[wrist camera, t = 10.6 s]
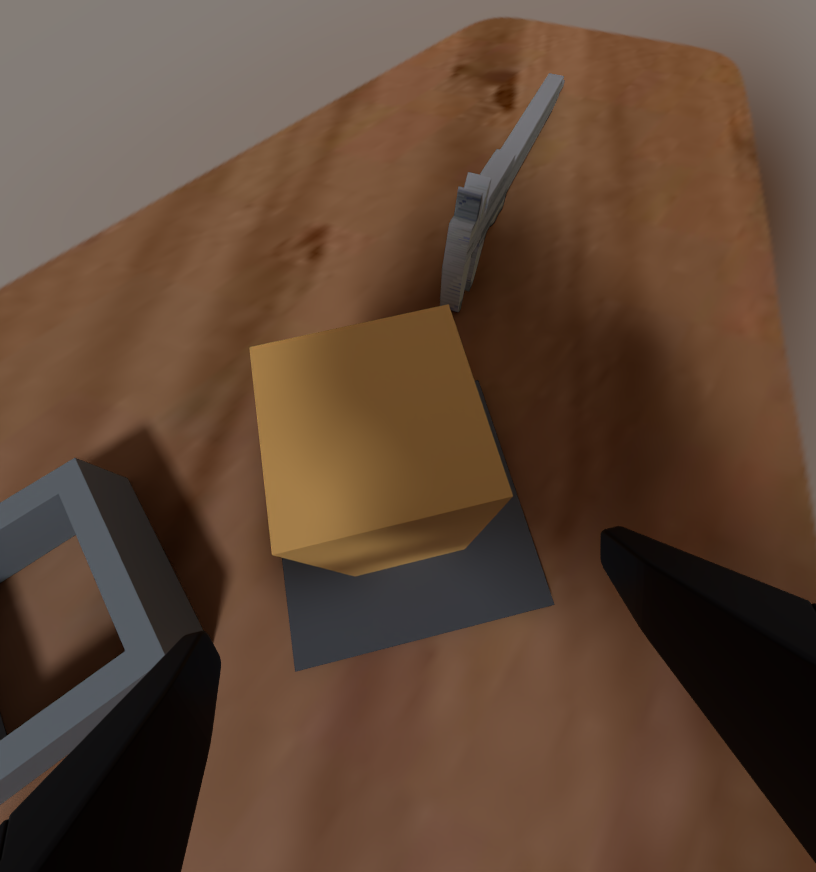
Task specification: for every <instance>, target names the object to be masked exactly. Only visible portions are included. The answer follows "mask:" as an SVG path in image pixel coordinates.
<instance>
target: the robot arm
mask: <svg viewBox="0 0 816 872" xmlns="http://www.w3.org/2000/svg"><path fill="white" fill-rule="evenodd" d="M601 563H602V565H603V568H604V570H605V571H606V573H607V575H608V576H609V578H610V580H611V581H612V583H613V585H614V586H615V588H616V590H617V591H618V593H619V595H620V596H621V598H622V599H623V601H624V603H625V604H626V606H627V608H628V609H629V611H630V613H631V614H632V616H633V618H634V619H635V621H636V622H637V624H638V626H639V627H640V629H641V630H642V632H643V633H644V634H645V636H646V637H647V639H648V640H649V641H650V643H651V644H652V645H653V647H654V648H655V649H656V651H657V652H658V653H659V655H660V656H661V657H662V659H663V660H664V661H665V663H666V664H667V665H668V667H669V668H670V669H671V671H672V672H673V673H674V675H675V676H676V677H677V679H678V680H679V681H680V683H681V684H682V685H683V687H684V688H685V689H686V691H687V692H688V693H689V695H690V696H691V697H692V699H693V700H694V701H695V703H696V704H697V705H698V707H699V708H700V709H701V711H702V712H703V713H704V715H705V716H706V717H707V719H708V720H709V721H710V723H711V724H712V725H713V727H714V728H715V729H716V731H717V732H718V733H719V735H720V736H721V737H722V739H723V740H724V741H725V743H726V744H727V745H728V747H729V748H730V750H731V751H732V752H733V754H734V755H735V756H736V758H737V759H738V760H739V762H740V763H741V764H742V766H743V767H744V768H745V770H746V771H747V772H748V774H749V775H750V776H751V778H752V779H753V780H754V782H755V783H756V784H757V786H758V787H759V788H760V790H761V791H762V792H763V794H764V795H765V796H766V798H767V799H768V800H769V802H770V803H771V804H772V806H773V807H774V808H775V810H776V811H777V812H778V814H779V815H780V816H781V818H782V819H783V820H784V822H785V823H786V824H787V826H788V827H789V828H790V830H791V831H792V832H793V834H794V835H795V836H796V838H797V839H798V840H799V842H800V843H801V844H802V846H803V847H804V848H805V850H806V851H807V852H808V854H809V855H810V856H811V858H812V859H813V860H814V862H815V863H816V604H815V603H813V604H811V603H810V602H809V601H808V600H805V599H803V598H800V597H798V596H795V595H793V594H790V593H788V592H785V591H783V590H780V589H778V588H775V587H772V586H770V585H767V584H765V583H762V582H760V581H757V580H755V579H752V578H750V577H747V576H745V575H742V574H740V573H737V572H735V571H732V570H730V569H727V568H725V567H722V566H720V565H717V564H715V563H712V562H710V561H707V560H704V559H702V558H699V557H697V556H694V555H692V554H689V553H687V552H684V551H682V550H679V549H677V548H674V547H672V546H669V545H667V544H664V543H662V542H659V541H657V540H654V539H652V538H649V537H647V536H644V535H642V534H639V533H637V532H634V531H631V530H629V529H626V528H624V527H621V526H616V527H612V528H608V529H605V530H603V531H602V532H601ZM220 670H221V659H220V656H219V654H218V652H217V650H216V648H215V646H214V644H213V642H212V641H211V639H210V637H209V635H208V634H207V633H206V632H205V631H198V632H194V633H190V634H187V635H184V636H183V637H182V638H181V639H180V640H179V641H178V642H177V643H176V644H175V645H174V646H173V647H172V648H171V649H170V650H169V651H168V652H167V653H166V654H165V655H164V656H163V657H162V658H161V659H160V660H159V661H158V663H157V664H156V665H155V666H154V667H153V668H152V669H151V670H150V671H149V672H148V673H147V674H146V675H145V676H144V677H143V678H142V679H141V680H140V681H139V682H138V683H137V684H136V685H135V686H134V687H133V688H132V689H131V690H130V691H129V693H128V694H127V695H126V696H125V697H124V698H123V699H122V700H121V701H120V702H119V703H118V704H117V705H116V706H115V707H114V708H113V709H112V710H111V711H110V712H109V713H108V714H107V715H106V716H105V717H104V718H103V719H102V720H101V721H100V722H99V724H98V725H97V726H96V727H95V728H94V729H93V730H92V731H91V732H90V733H89V734H88V735H87V736H86V737H85V738H84V739H83V740H82V741H81V742H80V743H79V744H78V745H77V746H76V747H75V748H74V749H73V750H72V751H71V752H70V753H69V755H68V756H67V757H66V758H65V759H64V760H63V761H62V762H61V763H60V764H59V765H58V766H57V767H56V768H55V769H54V770H53V771H52V772H51V773H50V774H49V775H48V776H47V777H46V778H45V779H44V780H43V781H42V782H41V783H40V784H39V786H38V787H37V788H36V789H35V790H34V791H33V792H32V793H31V794H30V795H29V796H28V797H27V798H26V799H25V800H24V801H23V802H22V803H21V804H20V805H19V806H18V807H17V808H16V809H15V810H14V811H13V812H12V813H11V815H10V817H9V819H8V820H5V821H4V822H3V823H2V824H1V825H0V872H181V869H182V865H183V861H184V856H185V852H186V848H187V844H188V839H189V835H190V831H191V826H192V822H193V818H194V813H195V809H196V805H197V801H198V796H199V792H200V788H201V783H202V779H203V775H204V770H205V766H206V762H207V758H208V753H209V748H210V743H211V737H212V731H213V723H214V716H215V708H216V701H217V693H218V685H219V678H220Z"/></svg>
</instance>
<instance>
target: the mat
mask: <svg viewBox="0 0 816 872" xmlns="http://www.w3.org/2000/svg"><path fill="white" fill-rule="evenodd" d="M475 384H476V387H477V390H478V393H479V396H480V399H481V402H482V405H483V408H484V411H485V414H486V417H487V420H488V423H489V426H490V429H491V432H492V435H493V438H494V441H495V444H496V447H497V450H498V453H499V455H500V458H501V461H502V464H503V467H504V470H505V473H506V476H507V479H508V482H509V485H510V488H511V491H512V494H513V497H512V498H511V499H510V500H509V501H508V503H507V504H506V505H505V506H504V507H503V508H502V509H501V510H500V511H499V512H498V513H497V515H496V516H495V517H494V518H493V519H492V520H491V521H490V522H489V523H488V524H487V525H486V527H485V528H484V529H483V530H482V531H481V532H480V533H479V534H478V535H477V536H476V537H475V539H474V540H473V541H472V542H471V543H470V544H469V545H468V546H467V547H466V548H465V549H464V550H460V551H456V552H452V553H448V554H444V555H440V556H436V557H432V558H428V559H423V560H419V561H415V562H411V563H407V564H403V565H399V566H395V567H391V568H387V569H383V570H379V571H375V572H371V573H367V574H363V575H359V576H351V575H347V574H343V573H339V572H335V571H332V570H328V569H324V568H320V567H316V566H312V565H308V564H305V563H301V562H297V561H293V560H289V559H285V558H282V562H283V571H284V580H285V588H286V597H287V606H288V614H289V623H290V631H291V640H292V649H293V657H294V666H295V672H296V671H300V670H303V669H307V668H311V667H315V666H319V665H323V664H327V663H331V662H334V661H338V660H342V659H346V658H350V657H354V656H358V655H362V654H365V653H369V652H373V651H377V650H381V649H385V648H389V647H393V646H396V645H400V644H404V643H408V642H412V641H416V640H420V639H424V638H427V637H431V636H435V635H439V634H443V633H447V632H451V631H454V630H458V629H462V628H466V627H470V626H474V625H478V624H482V623H485V622H489V621H493V620H497V619H501V618H505V617H509V616H513V615H516V614H520V613H524V612H528V611H532V610H536V609H540V608H544V607H547V606H551V605H554V602H553V599H552V596H551V593H550V590H549V587H548V584H547V581H546V578H545V575H544V572H543V570H542V567H541V564H540V561H539V558H538V555H537V552H536V549H535V546H534V543H533V540H532V537H531V534H530V531H529V528H528V525H527V522H526V519H525V517H524V514H523V511H522V508H521V505H520V502H519V499H518V496H517V493H516V490H515V487H514V484H513V481H512V478H511V475H510V472H509V469H508V466H507V463H506V461H505V458H504V455H503V452H502V449H501V446H500V443H499V440H498V437H497V434H496V431H495V428H494V425H493V422H492V419H491V416H490V413H489V410H488V408H487V405H486V402H485V399H484V396H483V393H482V390H481V387H480V384H479V381H478V380H476V381H475Z"/></svg>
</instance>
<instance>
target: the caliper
mask: <svg viewBox="0 0 816 872" xmlns="http://www.w3.org/2000/svg"><path fill="white" fill-rule="evenodd" d="M563 79H564V76H560V75H556V74H551V73H549V74H548V76H547V78H546V79H545V81H544V82H543V84H542V85H541V87H540V88H539V90H538V92H537V93H536V95H535V96H534V98H533V99H532V101H531V102H530V104H529V106H528V107H527V109H526V110H525V112H524V113H523V115H522V117H521V118H520V120H519V121H518V123H517V124H516V126H515V128H514V129H513V131H512V132H511V134H510V135H509V137H508V139H507V140H506V142H505V143H504V145H503V146H502V148H501V150H499V149H496V151H495V152H494V154H493V155H492V157H491V158H490V160H489V161H488V163H487V164H486V166H485V167H484V169H483V170H482V172H481V173H480V175H478V174H474V173H470V172H468V175H467V179H466V183H465V186H464V188H463V187H458V194H457V200H456V207H455V213H454V216H453V218H452V219H451V221H450V223H449V229H448V235H447V241H446V247H445V254H444V260H443V266H442V280H441V295H440V306H442V305H447V304H449V307H450V310H452V311H455V312H459V311H460V309H461V304H462V300H463V295H464V290H466V291H469V290H470V288H471V286H472V283H473V280H474V276H475V272H476V269H477V265H478V261H479V258H480V254H481V250H482V247H483V243H484V239H485V236H486V232H487V230H488V229H489V227H491V226H492V225H493V224H494V222H495V220H496V218H497V216H498V214H499V213H500V211H501V210H502V208H503V205H504V201H505V197H506V193H507V191H508V189H509V187H510V185H511V183H512V182H513V180H514V178H515V176H516V174H517V173H518V171H519V169H520V167H521V165H522V164H523V162H524V160H525V158H526V156H527V155H528V153H529V151H530V149H531V147H532V146H533V144H534V142H535V140H536V138H537V137H538V135H539V133H540V131H541V130H542V128H543V126H544V124H545V122H546V121H547V119H548V117H549V115H550V114H551V112H552V110H553V107H554V105H555V103H556V101H557V99H558V96H559V93H560V91H561V90H562V88H563V85H564V81H565V80H563Z"/></svg>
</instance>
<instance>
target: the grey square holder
mask: <svg viewBox="0 0 816 872" xmlns="http://www.w3.org/2000/svg"><path fill="white" fill-rule="evenodd" d="M74 535H76V536H77V538H78V541H79V543H80V545H81V548H82V550H83V552H84V555H85V557H86V559H87V562H88V564H89V567H90V569H91V571H92V574H93V576H94V578H95V581H96V583H97V585H98V588H99V590H100V592H101V595H102V597H103V599H104V602H105V604H106V607H107V609H108V611H109V614H110V616H111V618H112V621H113V623H114V625H115V628H116V630H117V632H118V635H119V637H120V640H121V642H122V644H123V647H124V649H125V652H123V653H122V654H120V655H119V656H118V657H116V658H115V659H113V660H112V661H111V662H109V663H108V664H106V665H105V666H104V667H102V668H101V669H99V670H98V671H97V672H95V673H94V674H92V675H91V676H90V677H88V678H87V679H85V680H84V681H83V682H81V683H80V684H78V685H77V686H76V687H74V688H73V689H71V690H70V691H69V692H67V693H66V694H64V695H63V696H62V697H60V698H59V699H58V700H56V701H55V702H53V703H52V704H51V705H49V706H48V707H46V708H45V709H44V710H42V711H41V712H39V713H38V714H37V715H35V716H34V717H32V718H31V719H30V720H28V721H27V722H25V723H24V724H23V725H21V726H20V727H18V728H17V729H16V730H14V731H13V732H11V733H10V734H9V735H6V732H5V728H4V725H3V722H2V718H1V715H0V805H1V804H2V803H3V802H5V801H6V800H7V799H9V798H10V797H11V796H13V795H14V794H15V793H17V792H18V791H19V790H21V789H22V788H23V787H25V786H26V785H27V784H29V783H30V782H31V781H33V780H34V779H35V778H37V777H38V776H39V775H41V774H42V773H43V772H45V771H46V770H47V769H49V768H50V767H51V766H53V765H54V764H55V763H57V762H58V761H60V760H61V759H62V758H64V757H65V756H66V755H68V754H69V753H70V752H71V751H72V750H73V749H74V748H75V747H76V746H77V745H78V744H79V743H80V742H81V741H82V740H83V739H84V738H85V737H86V736H87V735H88V734H89V733H90V732H91V731H92V730H93V729H94V728H95V727H96V726H97V725H98V724H99V722H100V721H101V720H102V719H103V718H104V717H105V716H106V715H107V714H108V713H109V712H110V711H111V710H112V709H113V708H114V707H115V706H116V705H117V704H118V703H119V702H120V701H121V700H122V699H123V698H124V697H125V696H126V695H127V694H128V693H129V691H130V690H131V689H132V688H133V687H134V686H135V685H136V684H137V683H138V682H139V681H140V680H141V679H142V678H143V677H144V676H145V675H146V674H147V673H148V672H149V671H150V670H151V669H152V668H153V667H154V666H155V665H156V664H157V663H158V661H159V660H160V659H161V658H162V657H163V656H164V655H165V654H166V653H167V652H168V651H169V650H170V649H171V648H172V647H173V646H174V645H175V644H176V643H177V642H178V641H179V640H180V639H181V638H182V637H183V636H184V635H187V634H190V633H194V632H198V631H203V629H202V627H201V625H200V623H199V621H198V619H197V617H196V615H195V613H194V611H193V609H192V607H191V605H190V603H189V601H188V599H187V597H186V595H185V593H184V591H183V589H182V587H181V585H180V583H179V581H178V579H177V577H176V575H175V573H174V571H173V569H172V567H171V565H170V562H169V560H168V558H167V556H166V554H165V552H164V550H163V548H162V546H161V544H160V542H159V540H158V538H157V536H156V534H155V532H154V530H153V528H152V526H151V524H150V522H149V520H148V518H147V516H146V514H145V512H144V510H143V508H142V506H141V504H140V502H139V500H138V498H137V496H136V494H135V492H134V490H133V488H132V486H131V484H130V482H129V480H128V478H125V477H123V476H120V475H118V474H115V473H113V472H110V471H107V470H105V469H102V468H100V467H97V466H95V465H92V464H90V463H87V462H85V461H82V460H79V459H77V458H74V459H72V460H70V461H69V462H67V463H65V464H64V465H62V466H60V467H59V468H57V469H55V470H54V471H52V472H51V473H49V474H47V475H46V476H44V477H42V478H41V479H39V480H37V481H36V482H34V483H32V484H31V485H29V486H27V487H26V488H24V489H22V490H21V491H19V492H17V493H16V494H14V495H12V496H11V497H9V498H7V499H6V500H4V501H3V502H1V503H0V583H1V582H2V581H4V580H6V579H7V578H9V577H10V576H12V575H13V574H15V573H17V572H18V571H20V570H21V569H23V568H24V567H26V566H27V565H29V564H31V563H32V562H34V561H35V560H37V559H38V558H40V557H41V556H43V555H45V554H46V553H48V552H49V551H51V550H52V549H54V548H55V547H57V546H59V545H60V544H62V543H63V542H65V541H66V540H68V539H69V538H71V537H73V536H74Z"/></svg>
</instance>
